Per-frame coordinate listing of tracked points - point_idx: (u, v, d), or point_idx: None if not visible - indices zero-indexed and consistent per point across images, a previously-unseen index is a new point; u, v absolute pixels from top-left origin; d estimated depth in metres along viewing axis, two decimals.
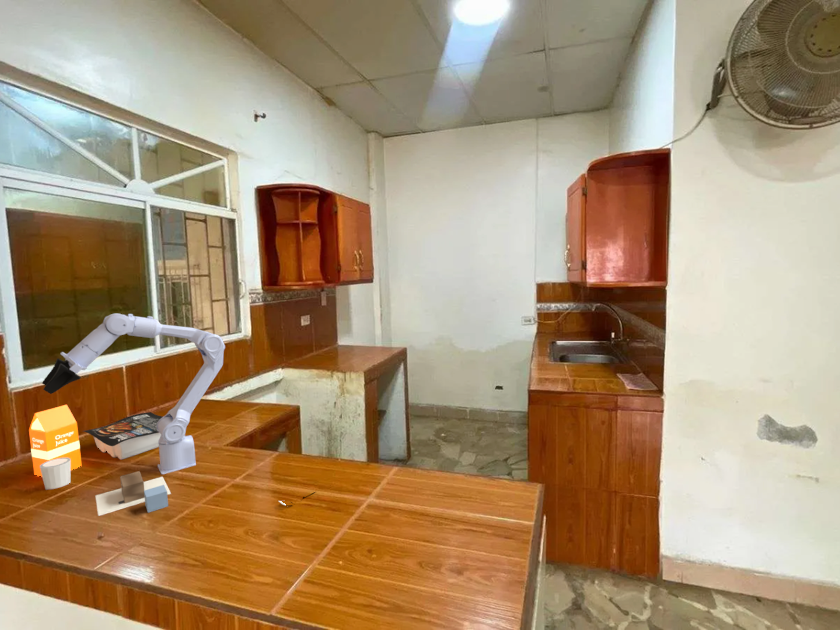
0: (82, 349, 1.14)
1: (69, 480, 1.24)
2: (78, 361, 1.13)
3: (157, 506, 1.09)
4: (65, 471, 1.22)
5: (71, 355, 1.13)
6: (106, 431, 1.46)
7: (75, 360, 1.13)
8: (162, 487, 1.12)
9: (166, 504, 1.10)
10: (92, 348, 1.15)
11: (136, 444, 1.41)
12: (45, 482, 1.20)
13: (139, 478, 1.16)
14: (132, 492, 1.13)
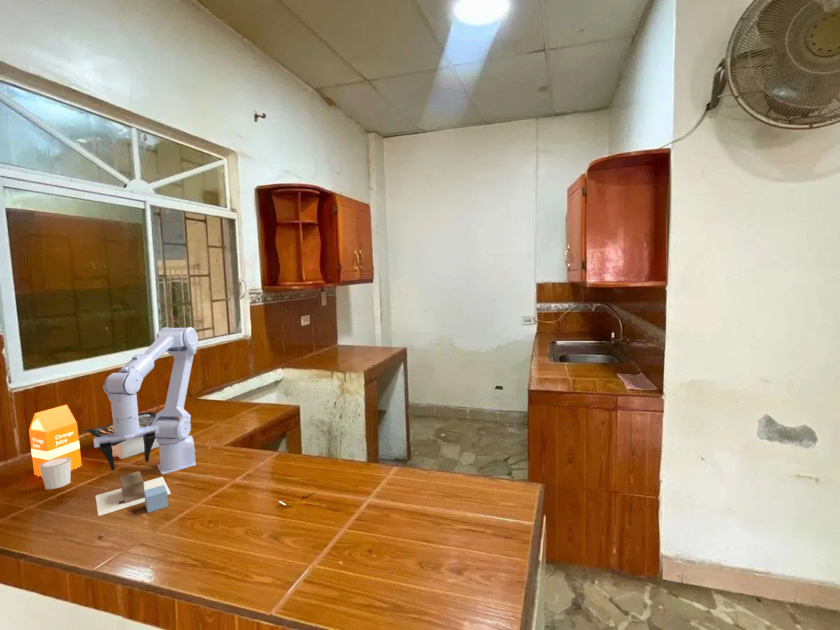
0: (137, 419, 1.14)
1: (69, 480, 1.24)
2: (139, 428, 1.16)
3: (157, 506, 1.09)
4: (65, 471, 1.22)
5: (136, 430, 1.14)
6: (108, 431, 1.46)
7: (139, 429, 1.16)
8: (162, 487, 1.12)
9: (166, 504, 1.10)
10: (135, 415, 1.14)
11: (136, 444, 1.42)
12: (45, 482, 1.20)
13: (139, 478, 1.16)
14: (132, 492, 1.13)
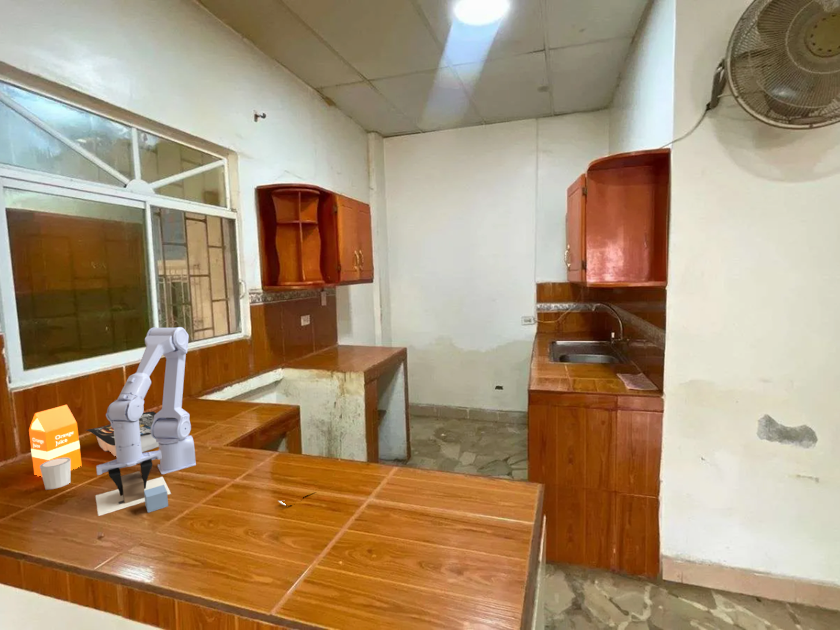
0: (139, 446, 1.15)
1: (69, 480, 1.24)
2: (142, 454, 1.17)
3: (157, 506, 1.09)
4: (65, 471, 1.22)
5: (139, 457, 1.15)
6: (109, 431, 1.47)
7: (142, 455, 1.16)
8: (162, 487, 1.12)
9: (166, 504, 1.10)
10: (137, 441, 1.15)
11: None
12: (45, 482, 1.20)
13: (139, 478, 1.16)
14: (132, 492, 1.13)
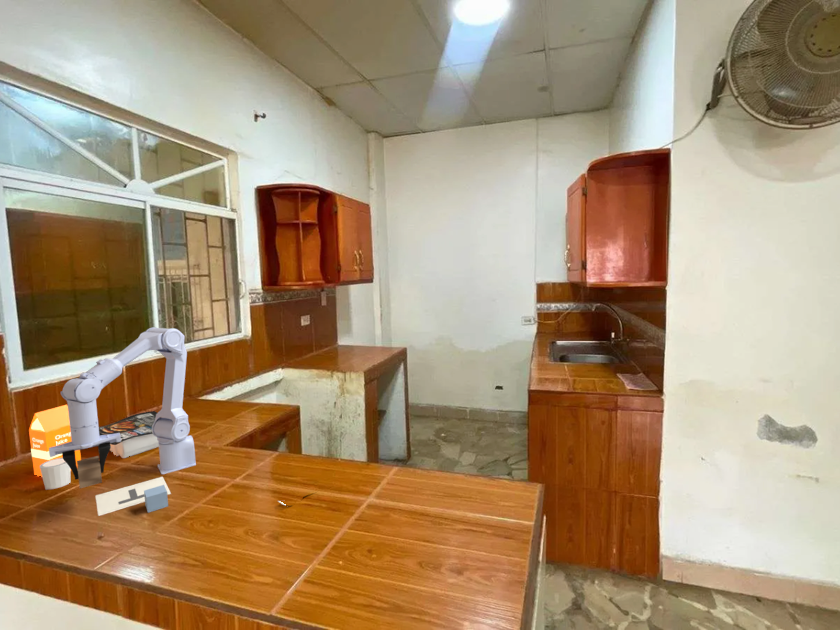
0: (96, 428, 1.10)
1: (69, 480, 1.24)
2: (99, 436, 1.12)
3: (157, 506, 1.09)
4: (65, 471, 1.22)
5: (95, 439, 1.10)
6: (110, 430, 1.47)
7: (99, 438, 1.11)
8: (162, 487, 1.12)
9: (166, 504, 1.10)
10: (90, 424, 1.08)
11: (138, 443, 1.42)
12: (45, 482, 1.20)
13: (96, 463, 1.11)
14: (88, 476, 1.07)
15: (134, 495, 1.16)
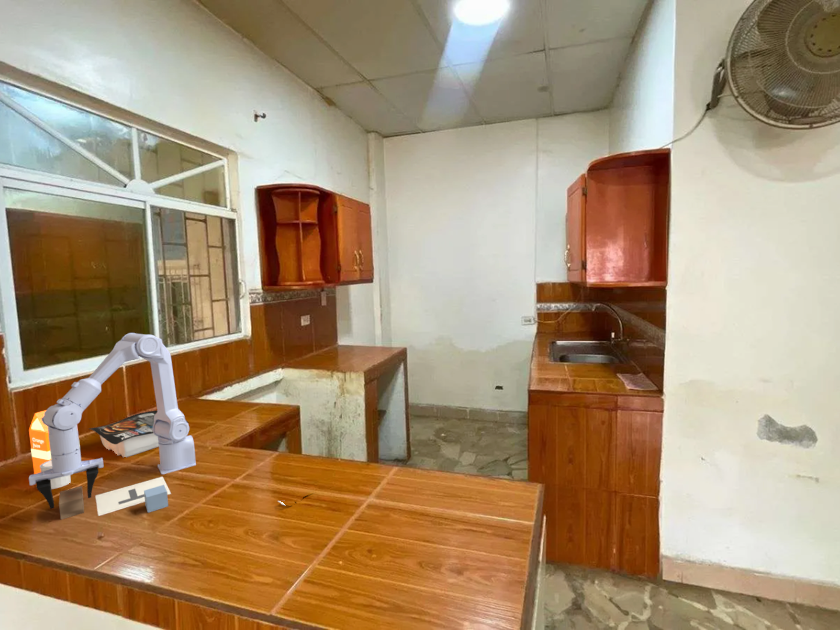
0: (78, 454, 1.08)
1: (69, 480, 1.24)
2: (81, 462, 1.10)
3: (157, 506, 1.09)
4: None
5: (77, 465, 1.08)
6: (111, 429, 1.48)
7: (81, 464, 1.10)
8: (162, 487, 1.12)
9: (166, 504, 1.10)
10: (70, 451, 1.07)
11: (139, 443, 1.43)
12: None
13: (78, 494, 1.09)
14: (70, 509, 1.06)
15: (134, 495, 1.16)
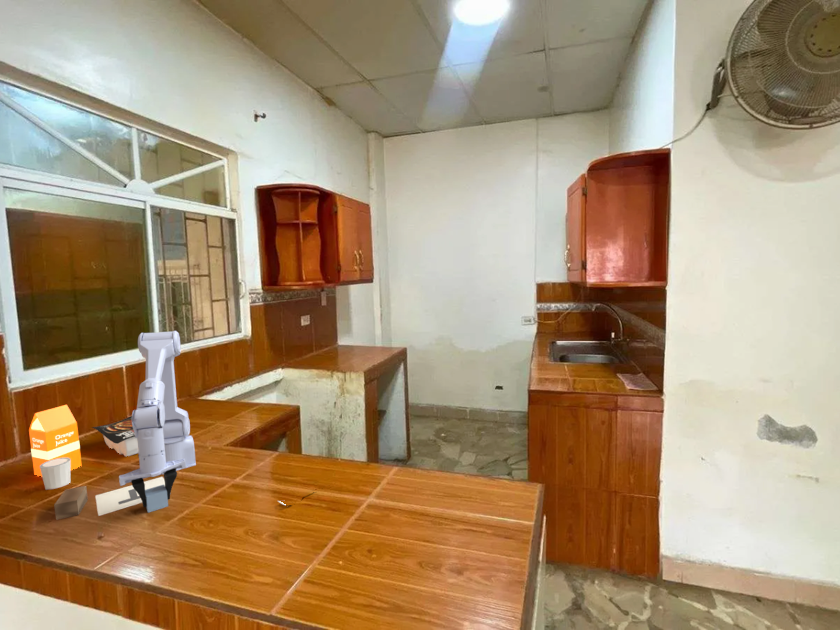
0: (163, 455, 1.09)
1: (69, 480, 1.24)
2: (165, 463, 1.11)
3: (157, 506, 1.09)
4: (65, 471, 1.22)
5: (163, 466, 1.09)
6: (114, 428, 1.49)
7: (166, 465, 1.11)
8: (162, 487, 1.12)
9: (166, 504, 1.10)
10: (164, 448, 1.10)
11: None
12: (45, 482, 1.20)
13: (77, 495, 1.09)
14: (65, 510, 1.06)
15: (134, 495, 1.16)
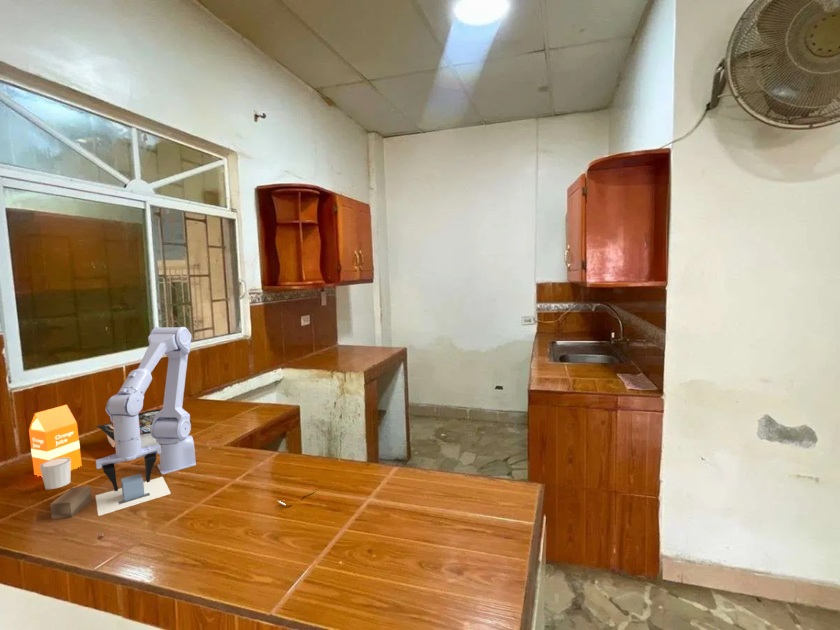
0: (139, 440, 1.15)
1: (69, 480, 1.24)
2: (141, 448, 1.17)
3: (133, 493, 1.14)
4: (65, 471, 1.22)
5: (138, 451, 1.15)
6: None
7: (141, 450, 1.16)
8: (139, 475, 1.18)
9: (142, 491, 1.16)
10: (137, 436, 1.14)
11: (142, 441, 1.44)
12: (45, 482, 1.20)
13: (74, 496, 1.08)
14: (59, 511, 1.05)
15: None
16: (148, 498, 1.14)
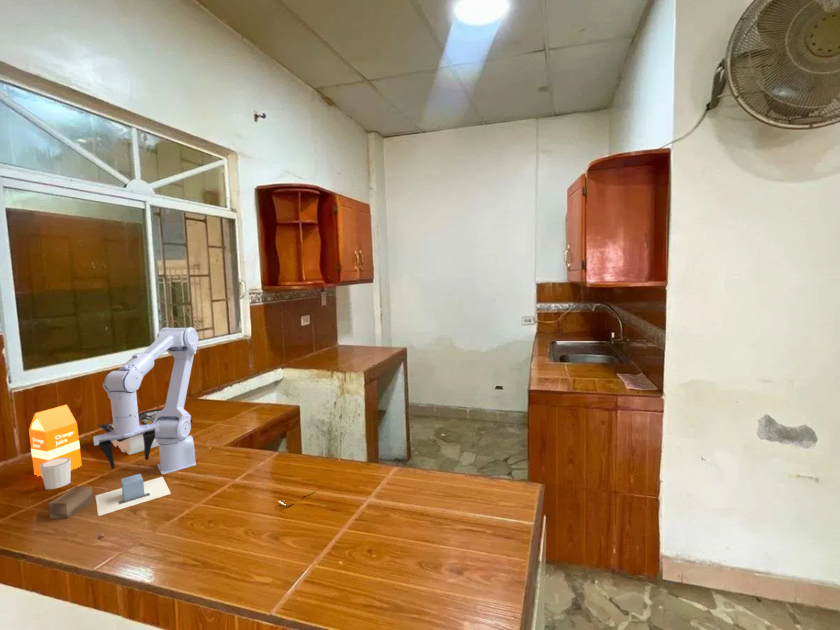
0: (137, 418, 1.14)
1: (69, 480, 1.24)
2: (139, 426, 1.16)
3: (133, 493, 1.14)
4: (65, 471, 1.22)
5: (136, 428, 1.14)
6: None
7: (139, 427, 1.16)
8: (139, 475, 1.18)
9: (142, 491, 1.16)
10: (135, 413, 1.14)
11: (143, 441, 1.44)
12: (45, 482, 1.20)
13: (72, 497, 1.08)
14: (56, 511, 1.05)
15: None
16: (148, 498, 1.14)
